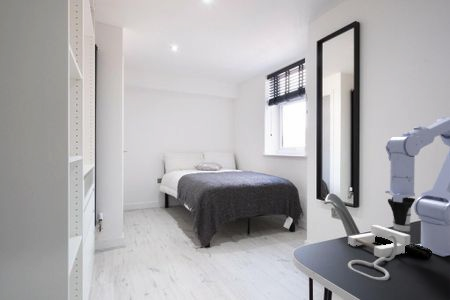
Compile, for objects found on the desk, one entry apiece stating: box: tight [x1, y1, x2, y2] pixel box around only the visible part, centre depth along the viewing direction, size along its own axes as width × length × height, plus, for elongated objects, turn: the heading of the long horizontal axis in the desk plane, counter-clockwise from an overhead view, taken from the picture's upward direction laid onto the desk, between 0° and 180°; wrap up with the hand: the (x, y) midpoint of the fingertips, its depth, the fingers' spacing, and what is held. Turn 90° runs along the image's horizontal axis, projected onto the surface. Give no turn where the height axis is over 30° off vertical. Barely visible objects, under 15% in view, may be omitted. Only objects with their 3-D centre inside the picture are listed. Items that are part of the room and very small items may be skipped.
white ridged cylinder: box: [392, 207, 412, 232], centre depth 71 cm, size 4×4×6 cm
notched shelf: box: [347, 224, 411, 259], centre depth 76 cm, size 13×11×5 cm
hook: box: [347, 235, 397, 281], centre depth 65 cm, size 7×9×20 cm
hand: (401, 223), depth 71 cm, fingers closed on white ridged cylinder, 4 cm apart
